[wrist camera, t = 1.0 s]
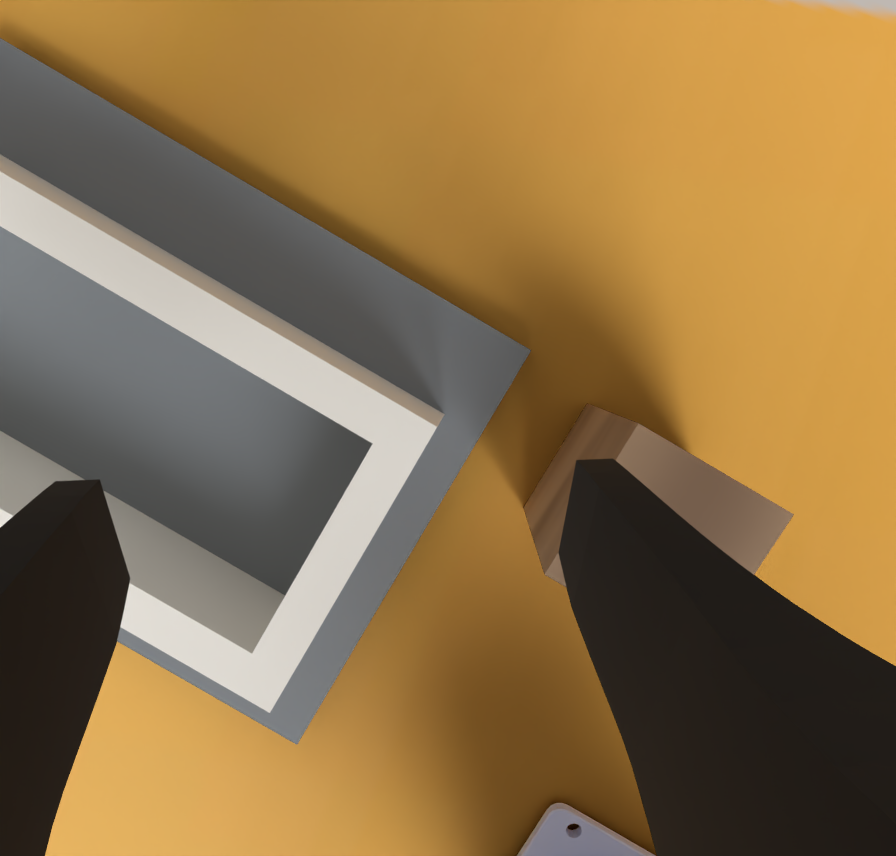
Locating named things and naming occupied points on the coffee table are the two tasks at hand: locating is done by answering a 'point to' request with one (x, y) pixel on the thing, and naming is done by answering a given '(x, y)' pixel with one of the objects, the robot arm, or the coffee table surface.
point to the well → (221, 394)
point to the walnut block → (654, 490)
